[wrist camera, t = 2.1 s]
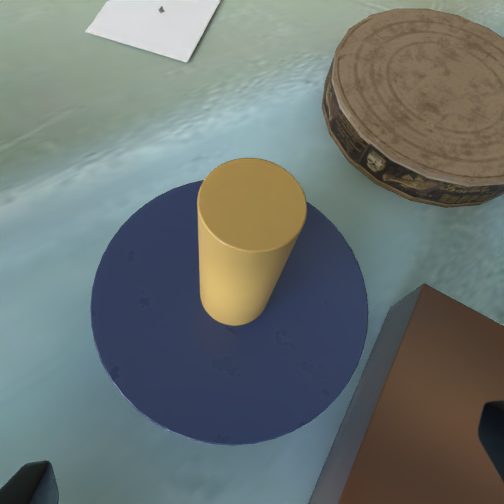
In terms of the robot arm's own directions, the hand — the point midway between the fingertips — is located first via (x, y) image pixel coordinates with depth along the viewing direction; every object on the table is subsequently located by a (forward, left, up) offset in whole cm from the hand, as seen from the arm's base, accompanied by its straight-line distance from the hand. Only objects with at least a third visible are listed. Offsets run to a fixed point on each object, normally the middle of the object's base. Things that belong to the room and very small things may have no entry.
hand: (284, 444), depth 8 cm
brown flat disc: (+26, -1, -13) cm, 29 cm away
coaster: (+23, +21, -13) cm, 34 cm away
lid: (+4, +3, -7) cm, 9 cm away
